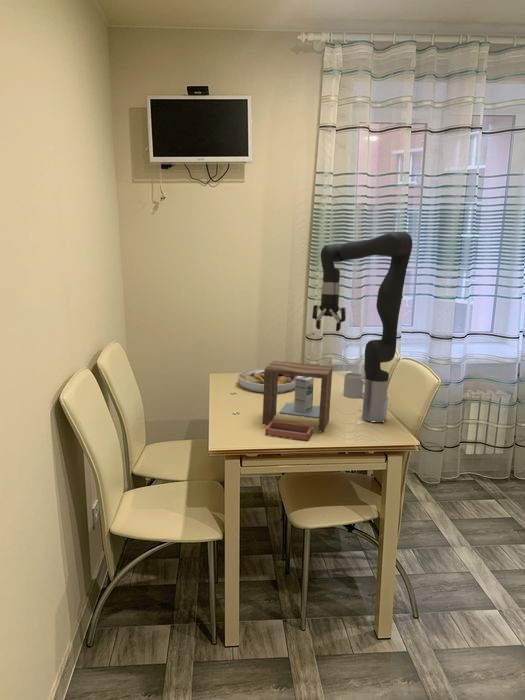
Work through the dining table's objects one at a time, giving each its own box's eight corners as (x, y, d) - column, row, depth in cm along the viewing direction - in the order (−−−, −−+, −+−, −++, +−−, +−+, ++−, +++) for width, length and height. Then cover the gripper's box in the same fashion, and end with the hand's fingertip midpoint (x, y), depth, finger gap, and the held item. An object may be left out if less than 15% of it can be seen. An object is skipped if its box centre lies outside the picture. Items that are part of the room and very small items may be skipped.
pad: (286, 403, 229) (286, 402, 229) (327, 408, 225) (327, 407, 225) (279, 413, 216) (279, 412, 216) (322, 418, 211) (322, 417, 211)
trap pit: (271, 427, 200) (271, 420, 200) (312, 432, 196) (312, 426, 196) (265, 435, 192) (265, 428, 191) (307, 441, 188) (308, 434, 187)
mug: (341, 392, 249) (342, 372, 247) (360, 392, 250) (362, 372, 248) (347, 399, 239) (348, 378, 237) (367, 399, 240) (369, 378, 238)
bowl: (270, 399, 236) (270, 382, 234) (224, 385, 256) (225, 369, 254) (310, 387, 258) (311, 371, 256) (266, 375, 277) (266, 360, 276)
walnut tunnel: (271, 413, 216) (273, 360, 211) (328, 420, 210) (332, 366, 205) (262, 424, 203) (264, 368, 198) (323, 432, 197) (327, 375, 192)
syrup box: (305, 413, 215) (307, 379, 212) (293, 410, 219) (295, 377, 216) (312, 410, 220) (314, 377, 217) (300, 407, 223) (302, 374, 220)
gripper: (311, 292, 222) (309, 329, 225) (343, 294, 216) (341, 333, 219) (317, 290, 228) (315, 327, 232) (349, 293, 222) (346, 330, 226)
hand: (328, 330), depth 225 cm, fingers open, 8 cm apart
